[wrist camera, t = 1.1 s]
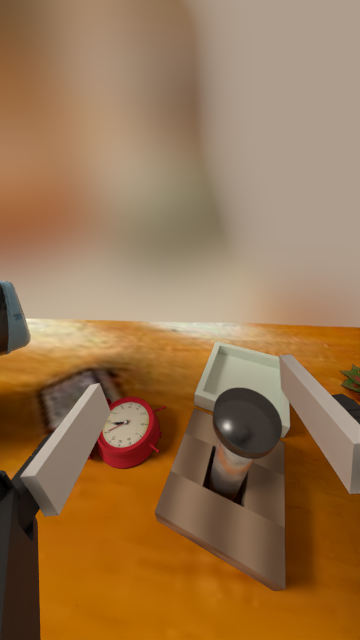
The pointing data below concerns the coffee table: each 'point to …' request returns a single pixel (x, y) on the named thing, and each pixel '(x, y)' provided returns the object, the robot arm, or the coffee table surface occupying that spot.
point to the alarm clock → (128, 433)
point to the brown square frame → (228, 506)
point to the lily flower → (352, 378)
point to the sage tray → (242, 378)
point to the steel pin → (241, 437)
